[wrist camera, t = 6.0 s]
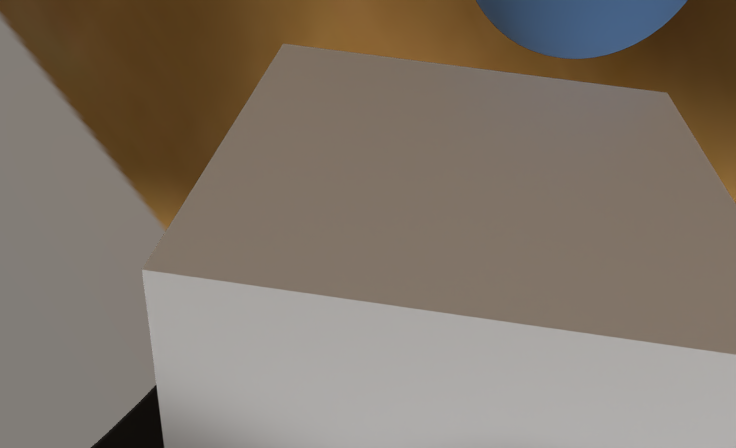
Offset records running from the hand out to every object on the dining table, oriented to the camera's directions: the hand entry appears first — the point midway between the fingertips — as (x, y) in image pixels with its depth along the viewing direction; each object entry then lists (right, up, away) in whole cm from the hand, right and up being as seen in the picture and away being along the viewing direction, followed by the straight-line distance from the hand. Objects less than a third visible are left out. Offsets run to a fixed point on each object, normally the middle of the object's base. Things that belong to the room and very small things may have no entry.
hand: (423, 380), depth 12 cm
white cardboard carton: (0, +1, +1) cm, 2 cm away
